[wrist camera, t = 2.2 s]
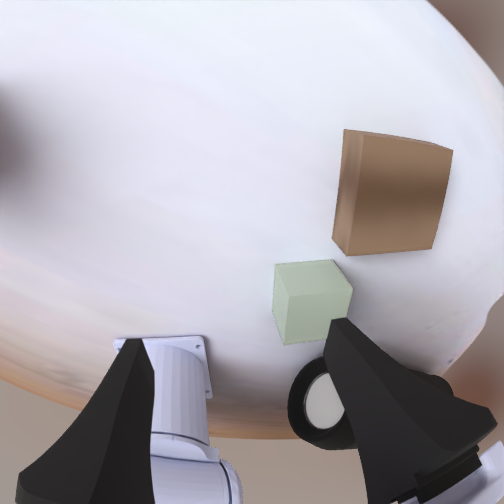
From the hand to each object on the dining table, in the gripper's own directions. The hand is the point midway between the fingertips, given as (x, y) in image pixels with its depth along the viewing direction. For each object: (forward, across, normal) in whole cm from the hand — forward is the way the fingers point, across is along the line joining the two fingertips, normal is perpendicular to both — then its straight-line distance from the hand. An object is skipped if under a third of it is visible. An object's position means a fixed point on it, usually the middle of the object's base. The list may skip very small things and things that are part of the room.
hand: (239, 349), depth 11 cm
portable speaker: (+10, -18, +22) cm, 30 cm away
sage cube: (+10, -6, +5) cm, 13 cm away
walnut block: (+11, -12, -3) cm, 16 cm away
